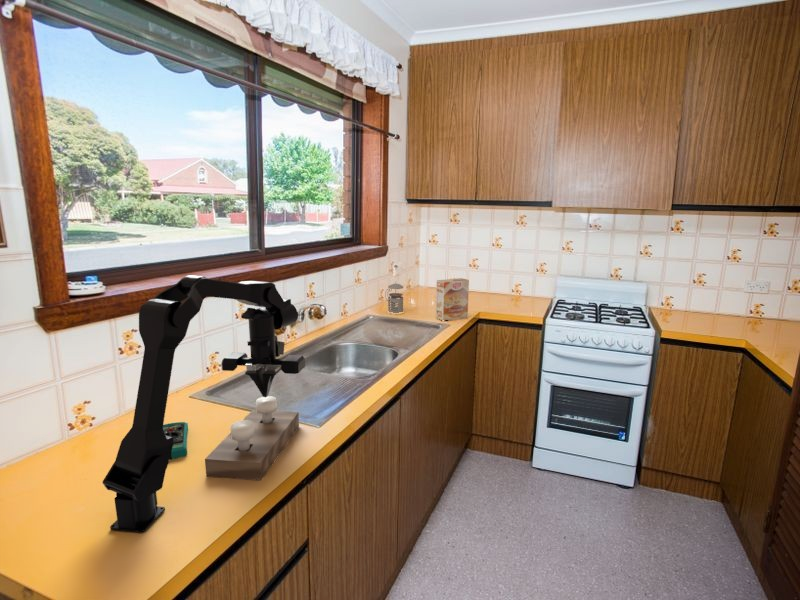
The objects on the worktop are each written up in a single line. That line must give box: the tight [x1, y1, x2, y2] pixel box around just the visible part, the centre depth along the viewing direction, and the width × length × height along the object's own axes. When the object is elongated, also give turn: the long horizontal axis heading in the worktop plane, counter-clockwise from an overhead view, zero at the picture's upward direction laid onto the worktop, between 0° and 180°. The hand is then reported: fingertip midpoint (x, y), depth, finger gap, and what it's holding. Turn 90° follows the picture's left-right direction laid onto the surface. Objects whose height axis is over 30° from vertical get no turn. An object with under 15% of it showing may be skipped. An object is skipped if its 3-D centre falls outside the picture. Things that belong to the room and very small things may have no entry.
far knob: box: [255, 395, 278, 424], centre depth 114 cm, size 5×5×7 cm
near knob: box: [230, 419, 255, 451], centre depth 102 cm, size 5×5×7 cm
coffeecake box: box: [435, 277, 470, 322], centre depth 231 cm, size 15×7×20 cm, turn 119°
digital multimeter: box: [163, 421, 189, 460], centre depth 111 cm, size 7×15×3 cm, turn 23°
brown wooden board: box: [204, 409, 300, 481], centre depth 109 cm, size 24×12×4 cm, turn 173°
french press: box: [384, 264, 404, 313], centre depth 244 cm, size 10×12×25 cm
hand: (265, 396), depth 114 cm, fingers closed
